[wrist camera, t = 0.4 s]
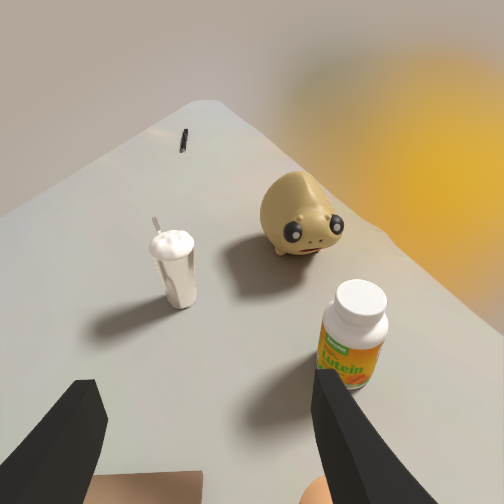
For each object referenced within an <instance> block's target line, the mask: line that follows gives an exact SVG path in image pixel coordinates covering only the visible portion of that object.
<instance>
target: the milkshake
mask: <svg viewBox="0 0 504 504" xmlns="http://www.w3.org/2000/svg"><path fill="white" fill-rule="evenodd" d="M152 221H153V223H154V226H155V228H156V230H157V233H158V236H156V237H155V238H154V239H153V240H152V241H151V243H150V246H149V251H150V254H151V256H152V259H153V261H154V263H155V266H156V268H157V271H158V274H159V276H160V279H161V282H162V285H163V288H164V290H165V293H166V296H167V299H168V301H169V303H170V304H171V305H172V306H173V307H174V308H178V309H184V308H187V307H190V306H191V305H192V304H193V303H194V302H195V301H196V281H195V267H194V240H193V238H192V237H191V236H190V235H189V234H188V233H187V232H185V231H177V230H170V231H167V232H164V233H162V231H161V229H160V226H159V224H158V221H157V219H156V217H153V218H152Z"/></svg>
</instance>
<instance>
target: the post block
mask: <svg viewBox="0 0 504 504" xmlns="http://www.w3.org/2000/svg"><path fill="white" fill-rule="evenodd" d="M202 484H203V474H202V471H181V472H159V473H137V474H116V475H94V476H93V477H92V479H91V482H90V485H89V488H88V491H87V494H86V497H85V499H84V502H83V504H201V499H202Z"/></svg>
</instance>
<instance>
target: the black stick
mask: <svg viewBox="0 0 504 504" xmlns="http://www.w3.org/2000/svg"><path fill="white" fill-rule="evenodd" d="M187 136H188V129H184V134H183V142H182V146H181V151H182V153H183V151H184V152H185V150H186V142H187Z"/></svg>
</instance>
